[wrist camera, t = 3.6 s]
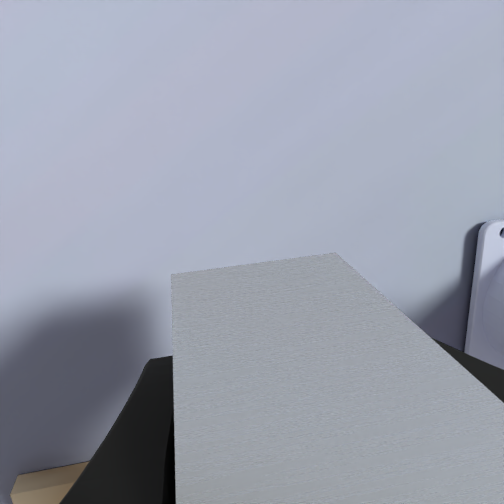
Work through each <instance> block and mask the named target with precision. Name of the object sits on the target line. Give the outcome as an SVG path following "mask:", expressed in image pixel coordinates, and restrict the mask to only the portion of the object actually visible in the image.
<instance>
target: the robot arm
mask: <svg viewBox="0 0 504 504" xmlns="http://www.w3.org/2000/svg"><path fill="white" fill-rule="evenodd" d="M502 228H504V219H500V220H492V221H488V222H486V223H484V224H483V225H482V227H481V228H480V230H479V234H478V243H477V251H476V260H475V268H474V276H473V285H472V293H471V301H470V310H469V318H468V327H467V335H466V343H465V352H461V351H459V350H457V349H455V348H453V347H450V346H448V345H446V344H444V343H442V342H439V341H437V340H435V339H433V338H432V339H433V340H434V341H435V342H436V343H437V344H438V345H439V346H441V347H442V348H443V349H444V350H445V351H446V352H447V353H448V354H450V355H451V356H452V357H453V358H454V359H455V360H456V361H457V362H458V363H460V364H461V365H462V366H463V367H464V368H465V369H466V370H467V371H469V372H470V373H471V374H472V375H473V376H474V377H475V378H476V379H477V380H479V381H480V382H481V383H482V384H483V385H484V386H485V387H486V388H488V389H489V390H490V391H491V392H492V393H493V394H494V395H495V396H496V397H498V398H499V399H500V400H501V401H502V402H503V403H504V230H503V233H502V234H501V235H500V234H499V233H500V231H501V229H502ZM59 504H176V483H175V436H174V390H173V356H168V357H161V358H155V359H150V360H149V361H148V363H147V364H146V365H145V367H144V369H143V372H142V374H141V376H140V378H139V380H138V382H137V384H136V386H135V388H134V390H133V392H132V393H131V395H130V397H129V399H128V401H127V403H126V404H125V406H124V408H123V409H122V411H121V413H120V414H119V416H118V418H117V420H116V421H115V423H114V425H113V426H112V428H111V430H110V431H109V433H108V434H107V436H106V438H105V439H104V441H103V442H102V444H101V445H100V447H99V448H98V450H97V451H96V453H95V454H94V456H93V457H92V458H91V460H90V461H89V463H88V464H87V466H86V467H85V469H84V470H83V472H82V473H81V475H80V476H79V477H78V479H77V480H76V482H75V483H74V484H73V486H72V487H71V488H70V490H69V491H68V492H67V494H66V495H65V496H64V498H63V499H62V500H61V502H60V503H59Z"/></svg>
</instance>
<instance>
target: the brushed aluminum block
mask: <svg viewBox="0 0 504 504" xmlns="http://www.w3.org/2000/svg"><path fill="white" fill-rule="evenodd" d="M171 297H172V343H173V390H174V436H175V483H176V504H504V403H503V402H502V401H501V400H500V399H499V398H498V397H496V396H495V395H494V394H493V393H492V392H491V391H490V390H489V389H488V388H486V387H485V386H484V385H483V384H482V383H481V382H480V381H479V380H477V379H476V378H475V377H474V376H473V375H472V374H471V373H470V372H469V371H467V370H466V369H465V368H464V367H463V366H462V365H461V364H460V363H458V362H457V361H456V360H455V359H454V358H453V357H452V356H451V355H450V354H448V353H447V352H446V351H445V350H444V349H443V348H442V347H441V346H439V345H438V344H437V343H436V342H435V341H434V340H433V339H432V338H431V337H429V336H428V335H427V334H426V333H425V332H424V331H423V330H422V329H420V328H419V327H418V326H417V325H416V324H415V323H414V322H413V321H411V320H410V319H409V318H408V317H407V316H406V315H405V314H404V313H403V312H401V311H400V310H399V309H398V308H397V307H396V306H395V305H394V304H392V303H391V302H390V301H389V300H388V299H387V298H386V297H385V296H384V295H382V294H381V293H380V292H379V291H378V290H377V289H376V288H375V287H373V286H372V285H371V284H370V283H369V282H368V281H367V280H366V279H365V278H363V277H362V276H361V275H360V274H359V273H358V272H357V271H356V270H354V269H353V268H352V267H351V266H350V265H349V264H348V263H347V262H346V261H344V260H343V259H342V258H341V257H340V256H339V255H338V254H337V253H329V254H322V255H314V256H307V257H299V258H292V259H284V260H276V261H269V262H261V263H254V264H246V265H239V266H231V267H224V268H216V269H209V270H201V271H194V272H186V273H178V274H171Z"/></svg>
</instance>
